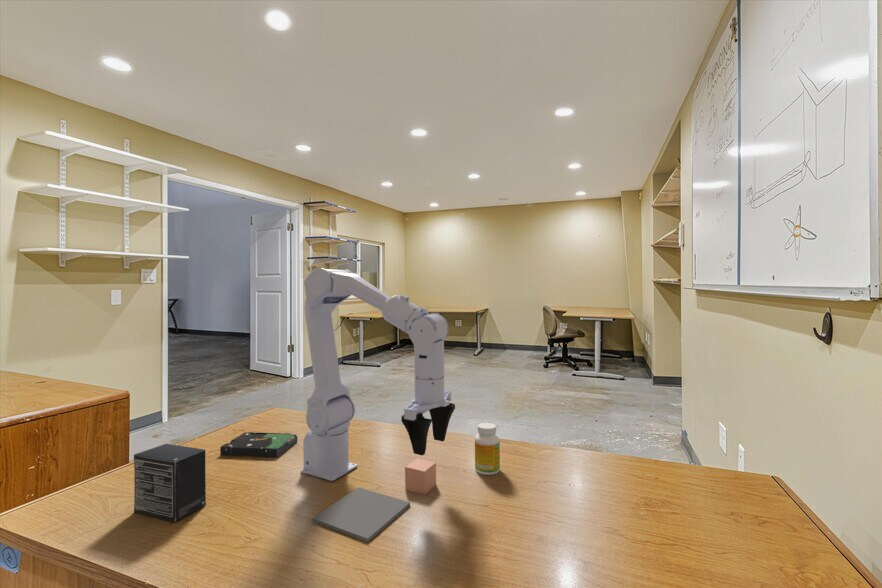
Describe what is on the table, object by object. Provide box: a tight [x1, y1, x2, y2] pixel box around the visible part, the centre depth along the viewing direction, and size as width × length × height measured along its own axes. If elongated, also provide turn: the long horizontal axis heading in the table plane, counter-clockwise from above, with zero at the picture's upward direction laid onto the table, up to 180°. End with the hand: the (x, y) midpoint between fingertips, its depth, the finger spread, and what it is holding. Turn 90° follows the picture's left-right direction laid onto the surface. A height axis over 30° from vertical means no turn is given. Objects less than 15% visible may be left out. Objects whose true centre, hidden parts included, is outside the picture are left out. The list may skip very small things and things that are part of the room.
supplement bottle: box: [474, 422, 501, 476], centre depth 87 cm, size 5×5×10 cm
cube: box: [404, 457, 437, 495], centre depth 80 cm, size 4×4×4 cm
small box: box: [133, 443, 207, 523], centre depth 72 cm, size 11×6×10 cm, turn 71°
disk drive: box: [219, 431, 298, 459], centre depth 100 cm, size 10×3×15 cm
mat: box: [311, 487, 411, 543], centre depth 70 cm, size 12×12×1 cm
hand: (429, 446), depth 77 cm, fingers open, 7 cm apart
